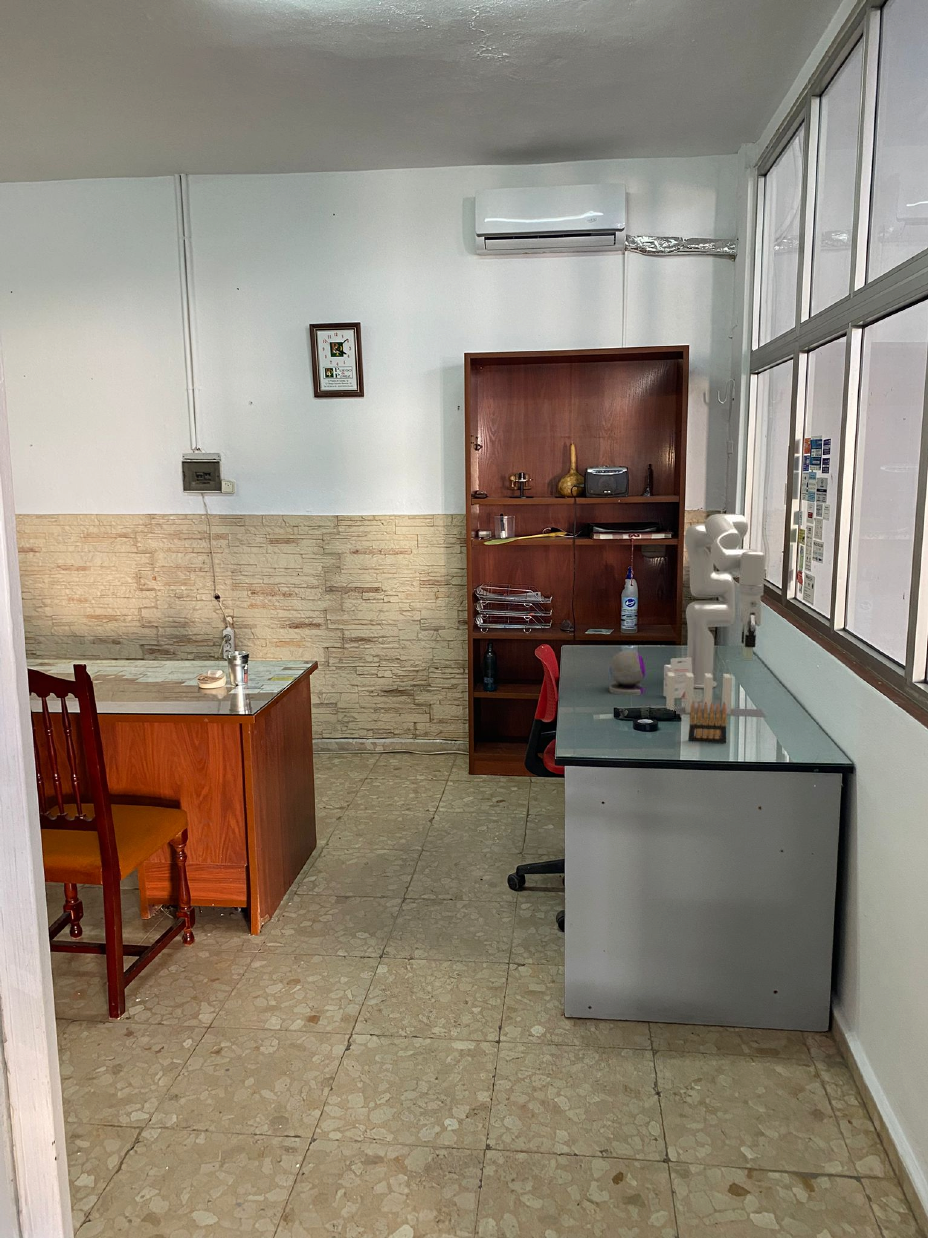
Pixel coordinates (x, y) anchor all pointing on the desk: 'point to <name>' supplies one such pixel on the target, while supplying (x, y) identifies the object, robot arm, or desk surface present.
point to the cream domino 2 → (689, 692)
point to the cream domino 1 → (670, 690)
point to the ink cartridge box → (678, 675)
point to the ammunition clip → (707, 724)
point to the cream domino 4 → (727, 692)
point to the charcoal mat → (733, 711)
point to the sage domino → (747, 650)
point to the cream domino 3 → (708, 690)
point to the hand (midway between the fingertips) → (748, 644)
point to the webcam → (627, 673)
